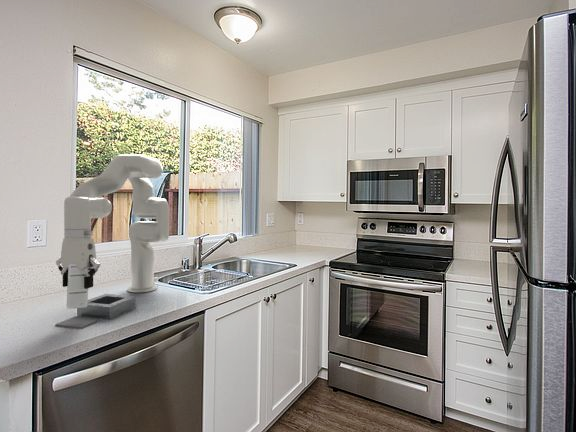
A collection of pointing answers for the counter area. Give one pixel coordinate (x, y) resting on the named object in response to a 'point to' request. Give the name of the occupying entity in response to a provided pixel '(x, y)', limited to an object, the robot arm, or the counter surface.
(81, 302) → the syrup box
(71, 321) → the charcoal mat
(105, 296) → the gray square frame
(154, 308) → the counter surface
